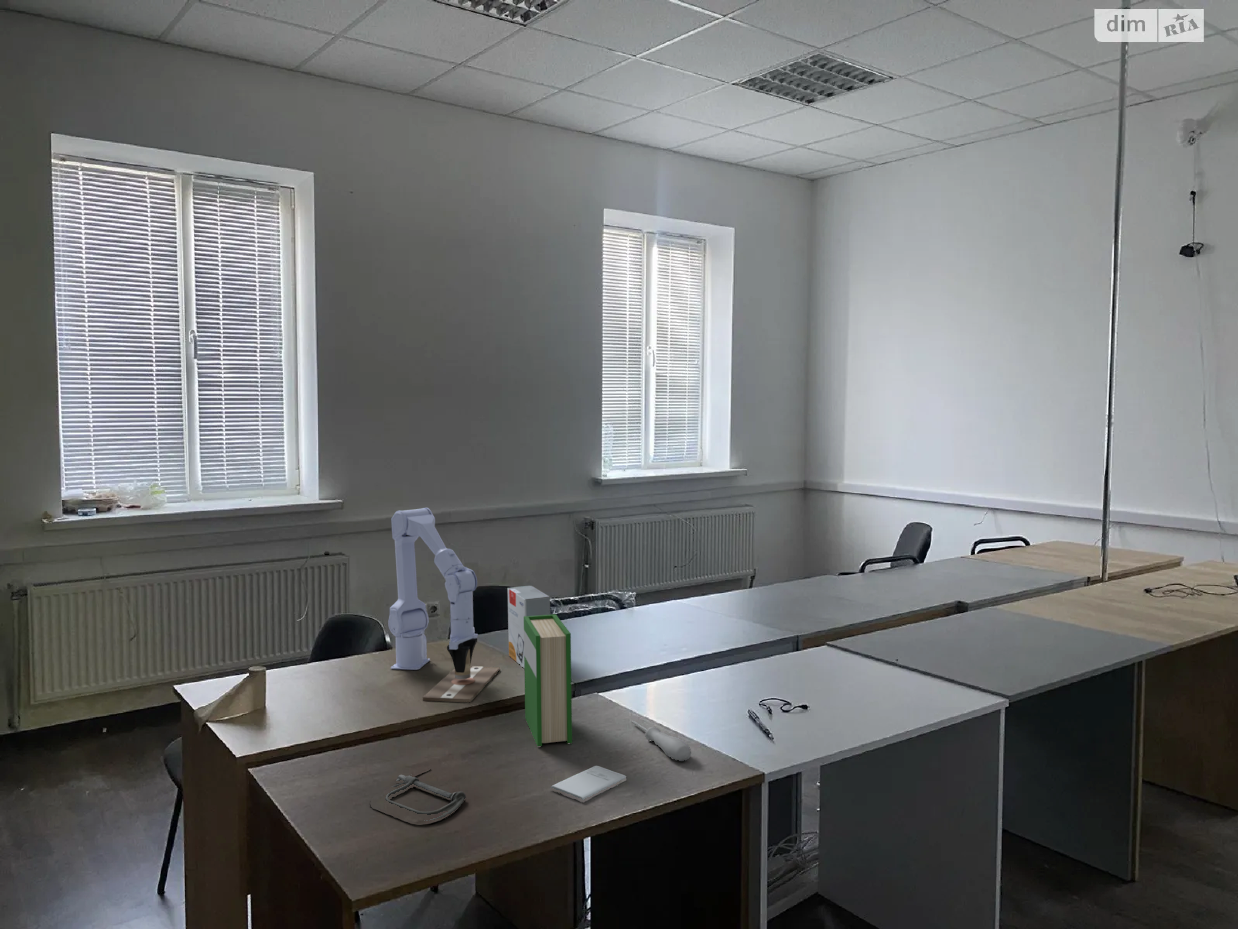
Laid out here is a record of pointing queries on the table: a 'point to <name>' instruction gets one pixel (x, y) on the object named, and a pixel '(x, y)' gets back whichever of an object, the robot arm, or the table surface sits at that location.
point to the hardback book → (547, 679)
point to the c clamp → (455, 798)
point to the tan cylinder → (467, 669)
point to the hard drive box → (521, 605)
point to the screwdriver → (667, 743)
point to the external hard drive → (589, 782)
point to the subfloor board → (461, 685)
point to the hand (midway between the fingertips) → (462, 669)
